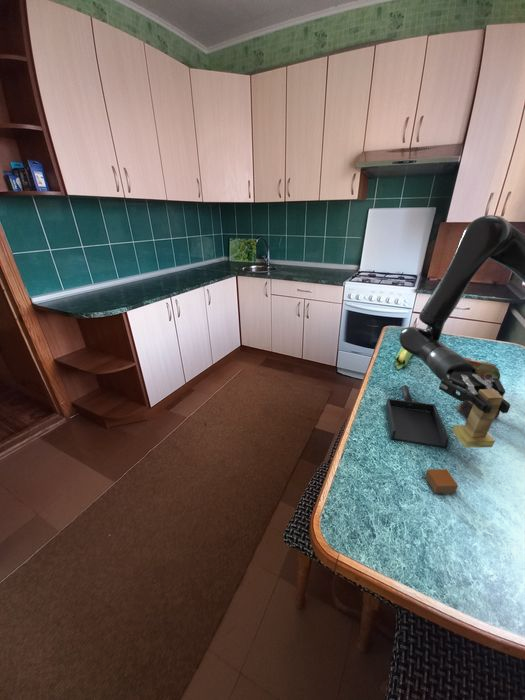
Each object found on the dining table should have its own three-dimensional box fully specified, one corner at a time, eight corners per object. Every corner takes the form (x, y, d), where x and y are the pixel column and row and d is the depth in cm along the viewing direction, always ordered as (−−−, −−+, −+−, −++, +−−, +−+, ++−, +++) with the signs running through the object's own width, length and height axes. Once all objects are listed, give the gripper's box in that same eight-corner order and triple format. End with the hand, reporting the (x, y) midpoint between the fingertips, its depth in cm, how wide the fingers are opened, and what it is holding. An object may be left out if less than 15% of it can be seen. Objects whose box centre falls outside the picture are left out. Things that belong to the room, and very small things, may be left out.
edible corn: (415, 351, 122) (418, 342, 120) (404, 372, 108) (407, 361, 106) (402, 348, 125) (404, 339, 123) (390, 368, 110) (392, 357, 108)
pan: (446, 448, 75) (449, 439, 73) (391, 439, 78) (393, 430, 76) (424, 393, 96) (426, 385, 94) (382, 388, 99) (383, 380, 97)
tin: (443, 377, 104) (450, 356, 100) (444, 373, 107) (451, 353, 103) (495, 390, 97) (504, 368, 93) (494, 386, 99) (503, 364, 95)
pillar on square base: (477, 431, 69) (496, 386, 63) (492, 447, 65) (514, 400, 58) (452, 431, 69) (469, 386, 63) (465, 447, 65) (485, 401, 58)
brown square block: (443, 476, 67) (446, 469, 66) (455, 493, 63) (458, 485, 62) (424, 476, 67) (427, 469, 66) (434, 493, 63) (437, 486, 62)
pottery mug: (450, 403, 92) (469, 383, 89) (478, 421, 90) (498, 401, 87) (463, 419, 80) (485, 396, 78) (495, 439, 79) (519, 417, 76)
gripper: (425, 354, 73) (469, 395, 57) (481, 353, 73) (540, 394, 57) (418, 379, 76) (458, 424, 61) (471, 378, 76) (525, 423, 61)
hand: (498, 409), depth 59 cm, fingers closed on pillar on square base, 3 cm apart
